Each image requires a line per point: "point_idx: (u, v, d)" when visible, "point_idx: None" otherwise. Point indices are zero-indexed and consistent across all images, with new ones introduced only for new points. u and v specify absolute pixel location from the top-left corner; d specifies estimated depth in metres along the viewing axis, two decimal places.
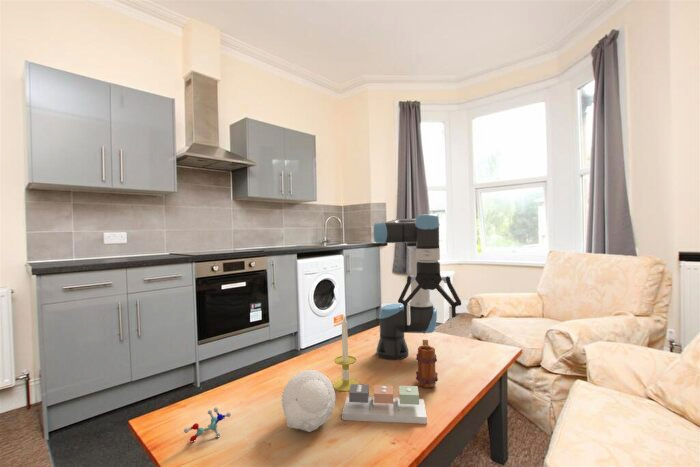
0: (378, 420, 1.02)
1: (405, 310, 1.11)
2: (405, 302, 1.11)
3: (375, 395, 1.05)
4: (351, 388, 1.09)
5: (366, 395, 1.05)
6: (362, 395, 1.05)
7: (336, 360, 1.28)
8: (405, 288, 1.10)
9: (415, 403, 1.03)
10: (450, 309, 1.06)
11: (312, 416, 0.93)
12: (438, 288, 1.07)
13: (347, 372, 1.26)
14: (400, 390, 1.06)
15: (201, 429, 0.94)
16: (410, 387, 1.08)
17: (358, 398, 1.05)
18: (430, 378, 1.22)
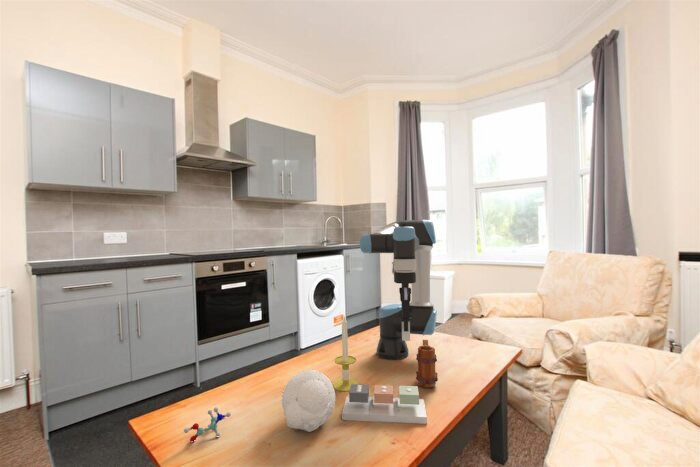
0: (378, 420, 1.02)
1: None
2: None
3: (375, 395, 1.05)
4: (351, 388, 1.09)
5: (366, 395, 1.05)
6: (362, 395, 1.05)
7: (336, 360, 1.28)
8: (401, 301, 1.19)
9: (415, 403, 1.03)
10: (401, 322, 1.14)
11: (312, 416, 0.93)
12: None
13: (347, 372, 1.26)
14: (400, 390, 1.06)
15: (201, 429, 0.94)
16: (410, 387, 1.08)
17: (358, 398, 1.05)
18: (430, 378, 1.22)
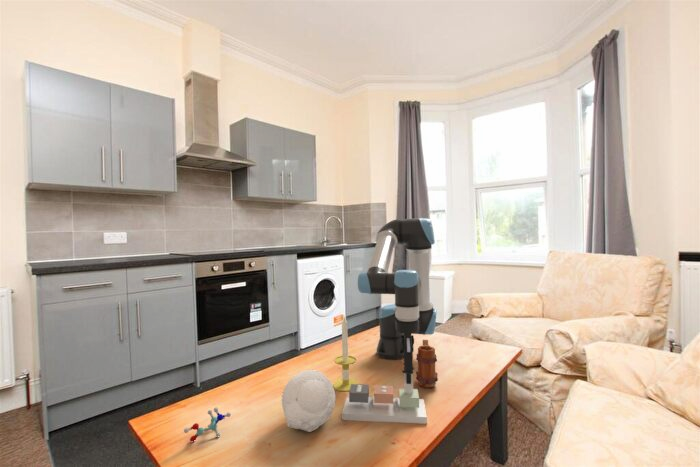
0: (378, 420, 1.02)
1: None
2: (404, 366, 1.08)
3: (375, 395, 1.05)
4: (351, 388, 1.09)
5: (366, 395, 1.05)
6: (362, 395, 1.05)
7: (336, 360, 1.28)
8: None
9: (415, 406, 1.03)
10: (404, 373, 1.06)
11: (312, 416, 0.93)
12: (402, 349, 1.05)
13: (347, 372, 1.26)
14: (400, 393, 1.06)
15: (201, 429, 0.94)
16: None
17: (358, 398, 1.05)
18: (430, 378, 1.22)
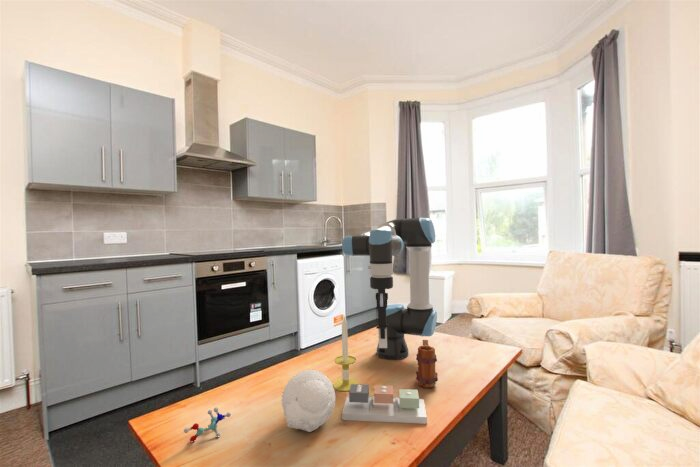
0: (378, 420, 1.02)
1: None
2: None
3: (375, 395, 1.05)
4: (351, 388, 1.09)
5: (366, 395, 1.05)
6: (362, 395, 1.05)
7: (336, 360, 1.28)
8: None
9: (415, 407, 1.03)
10: (378, 329, 1.09)
11: (312, 416, 0.93)
12: None
13: (347, 372, 1.26)
14: (400, 393, 1.06)
15: (201, 429, 0.94)
16: (410, 390, 1.08)
17: (358, 398, 1.05)
18: (430, 378, 1.22)
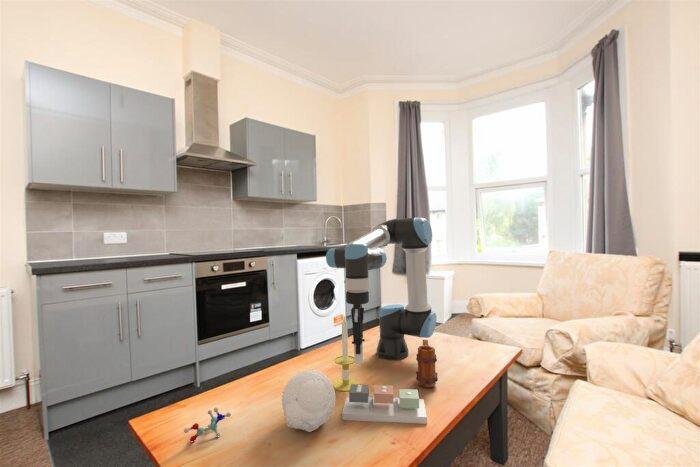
0: (378, 420, 1.02)
1: None
2: None
3: (375, 395, 1.05)
4: (351, 388, 1.09)
5: (366, 395, 1.05)
6: (362, 395, 1.05)
7: (336, 360, 1.28)
8: None
9: (415, 407, 1.03)
10: (354, 344, 1.08)
11: (312, 416, 0.93)
12: None
13: (347, 372, 1.26)
14: (400, 393, 1.06)
15: (201, 429, 0.94)
16: (410, 390, 1.08)
17: (358, 398, 1.05)
18: (430, 378, 1.22)
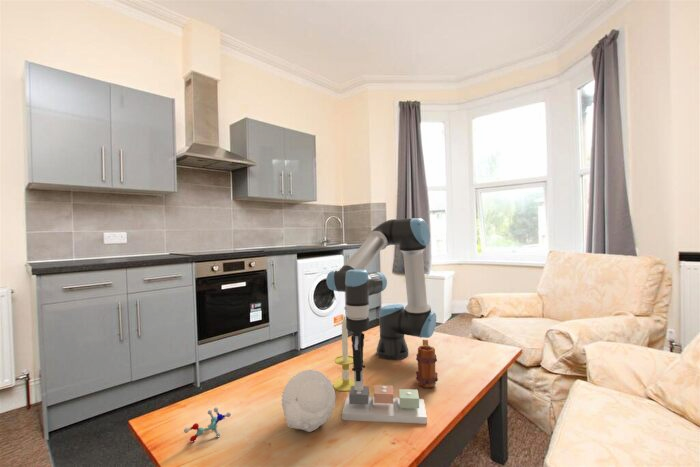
0: (378, 420, 1.02)
1: None
2: None
3: (375, 395, 1.05)
4: (351, 390, 1.09)
5: (366, 397, 1.05)
6: (362, 396, 1.05)
7: (336, 360, 1.28)
8: None
9: (415, 407, 1.03)
10: (354, 371, 1.08)
11: (312, 416, 0.93)
12: None
13: (347, 372, 1.26)
14: (400, 393, 1.06)
15: (201, 429, 0.94)
16: (410, 390, 1.08)
17: (358, 400, 1.05)
18: (430, 378, 1.22)
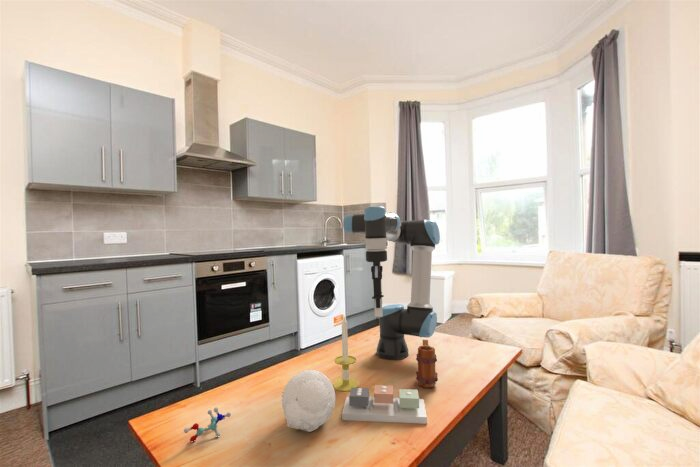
0: (378, 420, 1.02)
1: None
2: None
3: (375, 395, 1.05)
4: (351, 391, 1.09)
5: (366, 399, 1.05)
6: (362, 398, 1.05)
7: (336, 360, 1.28)
8: None
9: (415, 407, 1.03)
10: (374, 300, 1.18)
11: (312, 416, 0.93)
12: (372, 277, 1.16)
13: (347, 372, 1.26)
14: (400, 393, 1.06)
15: (201, 429, 0.94)
16: (410, 390, 1.08)
17: (358, 401, 1.05)
18: (430, 378, 1.22)
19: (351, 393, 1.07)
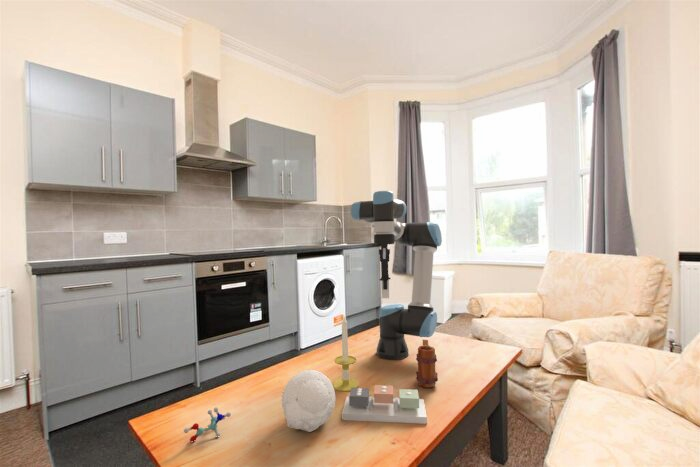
0: (378, 420, 1.02)
1: None
2: None
3: (375, 395, 1.05)
4: (351, 391, 1.09)
5: (366, 399, 1.05)
6: (362, 398, 1.05)
7: (336, 360, 1.28)
8: None
9: (415, 407, 1.03)
10: (381, 281, 1.21)
11: (312, 416, 0.93)
12: None
13: (347, 372, 1.26)
14: (400, 393, 1.06)
15: (201, 429, 0.94)
16: (410, 390, 1.08)
17: (358, 401, 1.05)
18: (430, 378, 1.22)
19: (351, 393, 1.07)
